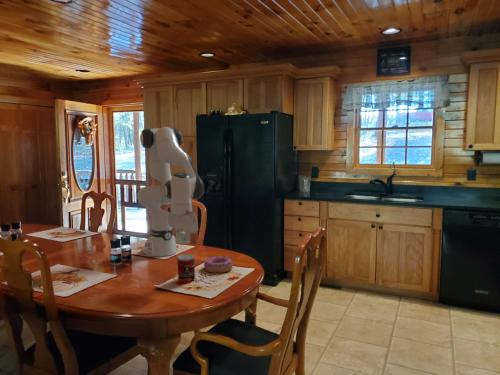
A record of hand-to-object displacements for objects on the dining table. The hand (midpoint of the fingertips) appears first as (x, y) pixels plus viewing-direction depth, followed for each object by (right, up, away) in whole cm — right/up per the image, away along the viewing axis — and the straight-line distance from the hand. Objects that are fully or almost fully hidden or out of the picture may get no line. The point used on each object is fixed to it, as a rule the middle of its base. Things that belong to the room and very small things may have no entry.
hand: (183, 239), depth 170 cm
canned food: (+1, -19, +3) cm, 19 cm away
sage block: (0, -2, 0) cm, 2 cm away
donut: (+15, -17, +17) cm, 29 cm away
